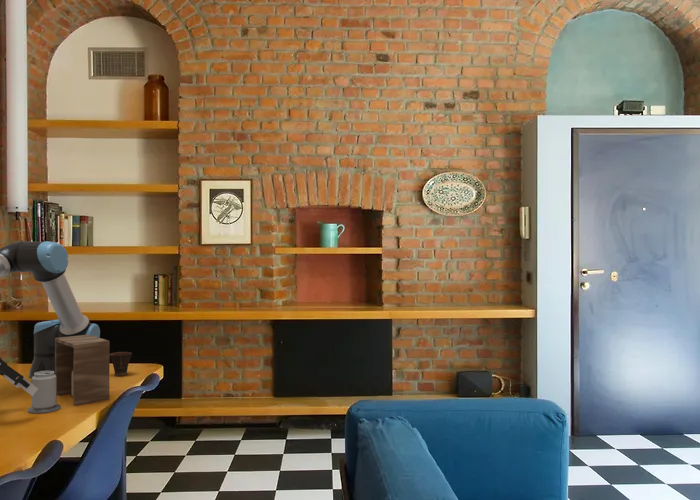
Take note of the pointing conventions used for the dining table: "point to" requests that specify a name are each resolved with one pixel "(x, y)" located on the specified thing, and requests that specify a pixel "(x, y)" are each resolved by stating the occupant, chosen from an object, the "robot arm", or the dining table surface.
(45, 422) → the dining table surface
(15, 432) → the dining table surface
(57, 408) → the coaster
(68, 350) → the wooden box
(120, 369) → the cup
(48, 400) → the can
